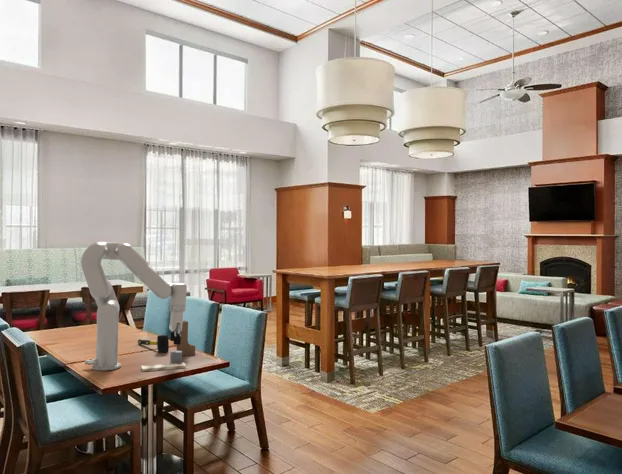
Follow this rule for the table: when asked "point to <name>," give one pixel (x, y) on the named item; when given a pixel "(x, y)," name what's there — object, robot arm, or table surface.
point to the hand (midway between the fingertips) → (175, 342)
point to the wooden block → (185, 341)
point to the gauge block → (176, 357)
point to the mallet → (158, 343)
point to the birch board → (163, 366)
